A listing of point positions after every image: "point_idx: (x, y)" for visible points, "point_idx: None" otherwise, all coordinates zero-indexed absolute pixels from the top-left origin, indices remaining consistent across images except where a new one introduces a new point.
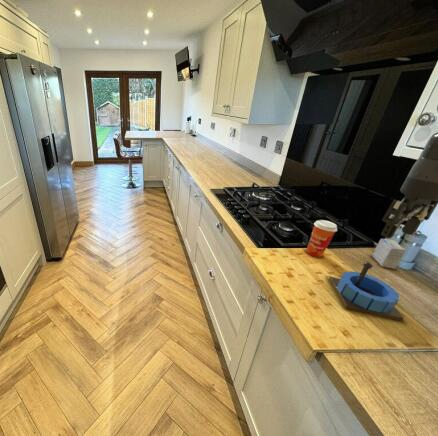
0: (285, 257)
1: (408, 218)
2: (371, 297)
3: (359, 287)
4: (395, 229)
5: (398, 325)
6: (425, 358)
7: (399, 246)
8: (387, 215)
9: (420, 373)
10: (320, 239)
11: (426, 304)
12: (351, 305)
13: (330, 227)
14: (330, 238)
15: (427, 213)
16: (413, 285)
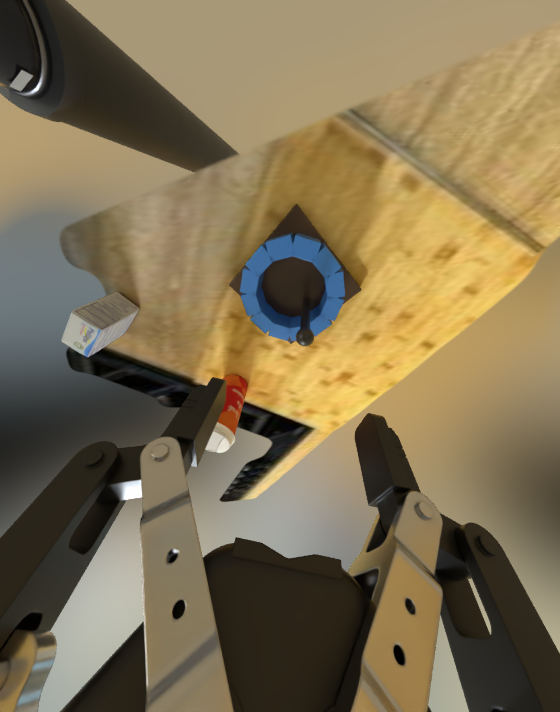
0: (298, 399)
1: (408, 571)
2: (338, 274)
3: (272, 302)
4: (399, 465)
5: (319, 202)
6: (397, 108)
7: (72, 325)
8: (472, 608)
9: (471, 90)
10: (236, 410)
11: (173, 198)
12: (353, 285)
13: (219, 434)
14: None
15: (79, 517)
16: (131, 245)
